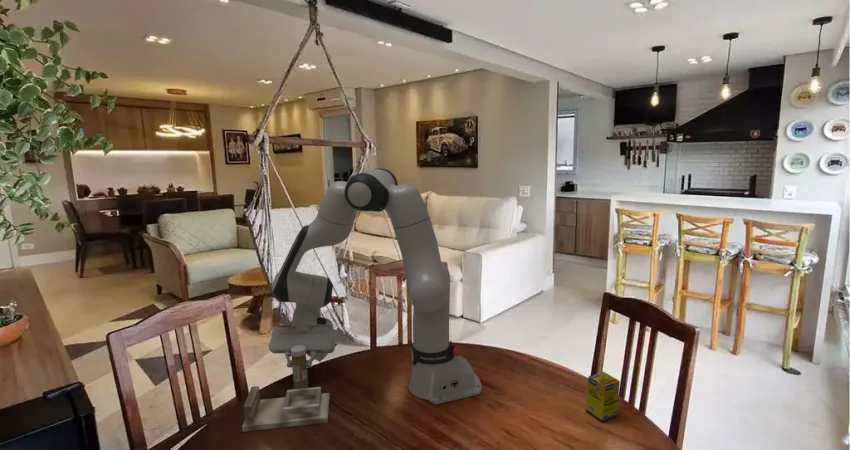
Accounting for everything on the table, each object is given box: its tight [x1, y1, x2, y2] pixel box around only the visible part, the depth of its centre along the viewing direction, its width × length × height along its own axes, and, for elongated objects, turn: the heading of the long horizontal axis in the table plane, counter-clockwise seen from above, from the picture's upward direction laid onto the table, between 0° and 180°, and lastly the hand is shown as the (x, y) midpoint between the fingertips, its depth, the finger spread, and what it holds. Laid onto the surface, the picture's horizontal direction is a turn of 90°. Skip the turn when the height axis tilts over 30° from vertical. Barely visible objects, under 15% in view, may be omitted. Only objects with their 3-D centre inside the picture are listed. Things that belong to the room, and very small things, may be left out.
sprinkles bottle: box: [291, 345, 309, 389], centre depth 135 cm, size 5×5×14 cm
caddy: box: [241, 385, 331, 433], centre depth 123 cm, size 22×12×6 cm, turn 100°
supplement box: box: [585, 371, 621, 423], centre depth 121 cm, size 6×6×11 cm
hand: (298, 366), depth 135 cm, fingers closed on sprinkles bottle, 4 cm apart
